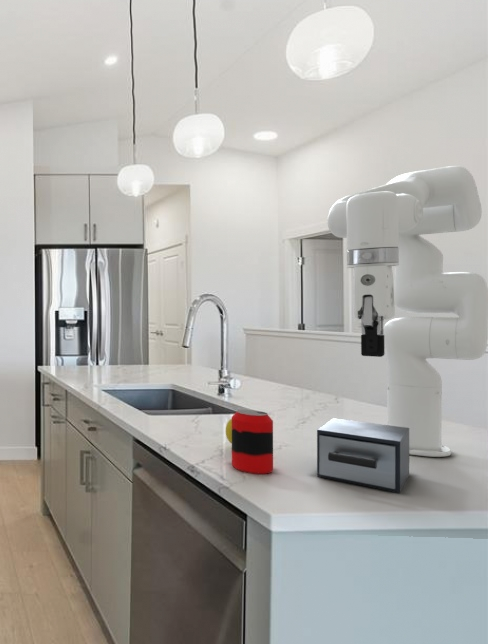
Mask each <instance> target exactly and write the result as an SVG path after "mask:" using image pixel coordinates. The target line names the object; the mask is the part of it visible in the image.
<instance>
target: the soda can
mask: <svg viewBox="0 0 488 644" xmlns="http://www.w3.org/2000/svg"><path fill="white" fill-rule="evenodd" d="M231 419H232V444H231V465H232V467H233V468H234V469H236V470H238V471H240V472H244V473H249V474H255V475H257V474H258V475H266V474H267V475H268V474H270V473H272V472H273V471H274V420H273V419H272V418H271V417H270V415H269V414H268V413H267V412H265V411H262V410H255V409H238V410H236V412H234V414H233V415H232V416H231Z"/></svg>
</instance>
